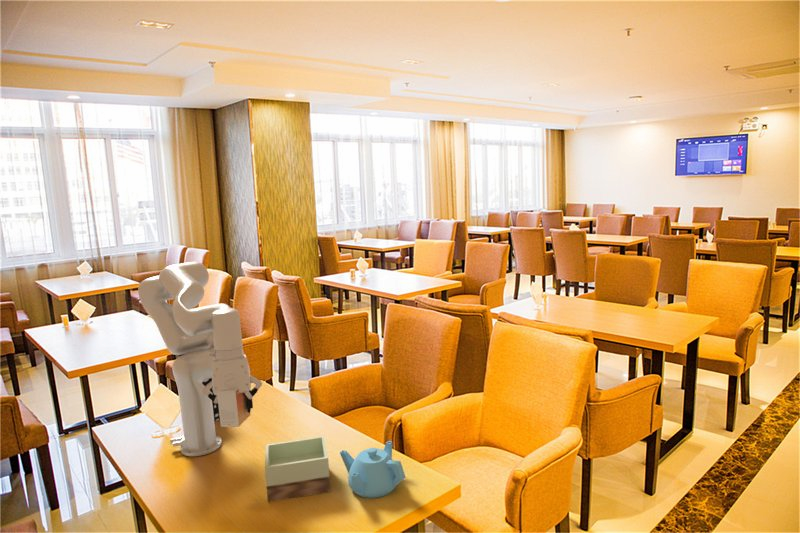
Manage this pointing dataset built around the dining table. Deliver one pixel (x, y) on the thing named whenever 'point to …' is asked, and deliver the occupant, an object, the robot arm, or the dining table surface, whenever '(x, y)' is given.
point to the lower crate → (298, 489)
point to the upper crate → (296, 461)
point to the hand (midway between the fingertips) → (235, 412)
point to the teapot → (373, 471)
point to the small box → (232, 408)
